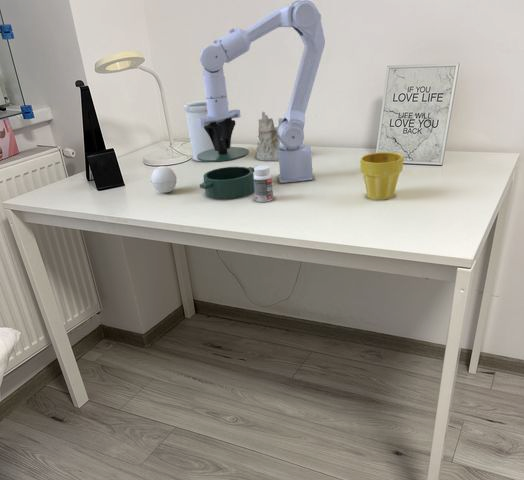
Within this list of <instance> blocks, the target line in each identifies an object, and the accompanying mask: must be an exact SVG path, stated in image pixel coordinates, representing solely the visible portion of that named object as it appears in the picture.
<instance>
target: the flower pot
mask: <svg viewBox="0 0 524 480" xmlns="http://www.w3.org/2000/svg"><path fill="white" fill-rule="evenodd" d="M359 163H360V165H359V167H360V168H359V169H360V173H361V174H362V176H363V181H364V184H365V191H366V196H367V198H368V199H370V200H373V201H384V200H389V199H392V198H393V197H394V195H395V192H396V189H397V185H398V181H399V178H400V177H399V176H400V174H401V173H402V171H403V167H404V156H403V154H400V153H398V152H393V151H380V152H379V151H378V152H372V153H367V154H365V155H363V156H361V158H360V161H359Z"/></svg>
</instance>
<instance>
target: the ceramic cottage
mask: <svg viewBox="0 0 524 480" xmlns="http://www.w3.org/2000/svg"><path fill="white" fill-rule="evenodd" d="M283 118H284V117H279V118H278V123H277V124H278V125H279V124H280V123H281V121H282V120H283ZM278 125H277V126H275V123H274V119H273V118H272V117H271V118H269V116H268V115H267V114H266V112H265V111H261V119H260V118H259V119H258V136H257V137H258V142H257V146H256V147H257V148H256V156H255V157H256V159H257V160H259V161H265V162H266V161H270V162H271V161H275V162H277V161H278V162H279V151H278V146H279V144H280V142H281V140H280V139H279V137H278V135H277V128H278Z"/></svg>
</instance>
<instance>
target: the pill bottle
mask: <svg viewBox="0 0 524 480" xmlns="http://www.w3.org/2000/svg"><path fill="white" fill-rule="evenodd" d="M253 168H254V172H253V174H254V188H255V190H254V198H255V199H254V200H255V201H256V202H259V203H266V202H271V201H272V200H273V199H274V191H273V176H272V174H271V168H270V166H269V165H258V166H255V167H253Z"/></svg>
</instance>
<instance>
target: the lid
mask: <svg viewBox="0 0 524 480" xmlns="http://www.w3.org/2000/svg"><path fill="white" fill-rule="evenodd" d="M221 143H222V151H215V149H210V150H206V151H203V152H201V153H199V154H198V155H197V159H198V160H200V161H199V162H206V163H225V162H232V161H236V160H240V159H242V158H245V157H247V156H248V155H249V154H250V150H249V149H248V148H246V147H242V146H240V147H239V146H231V147H230V148H229V149H227V144H226V138H221Z"/></svg>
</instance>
